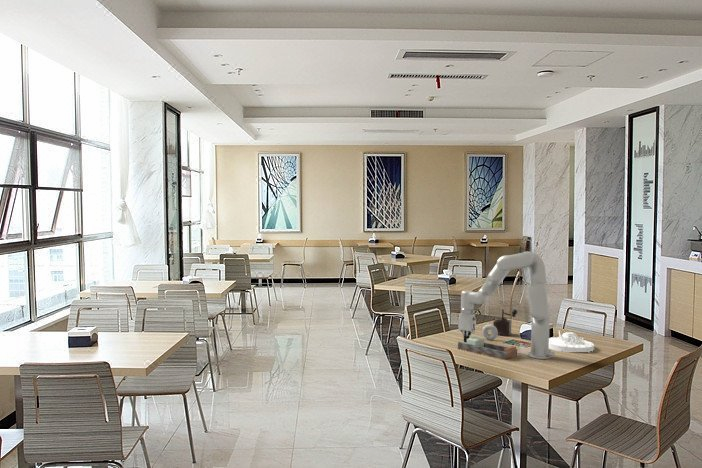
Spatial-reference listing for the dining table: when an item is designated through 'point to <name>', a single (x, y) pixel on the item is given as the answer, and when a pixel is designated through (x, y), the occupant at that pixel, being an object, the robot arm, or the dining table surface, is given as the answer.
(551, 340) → the cake
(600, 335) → the dining table surface
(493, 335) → the donut
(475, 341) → the sliding block
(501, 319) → the brown coffee grinder
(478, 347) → the track
